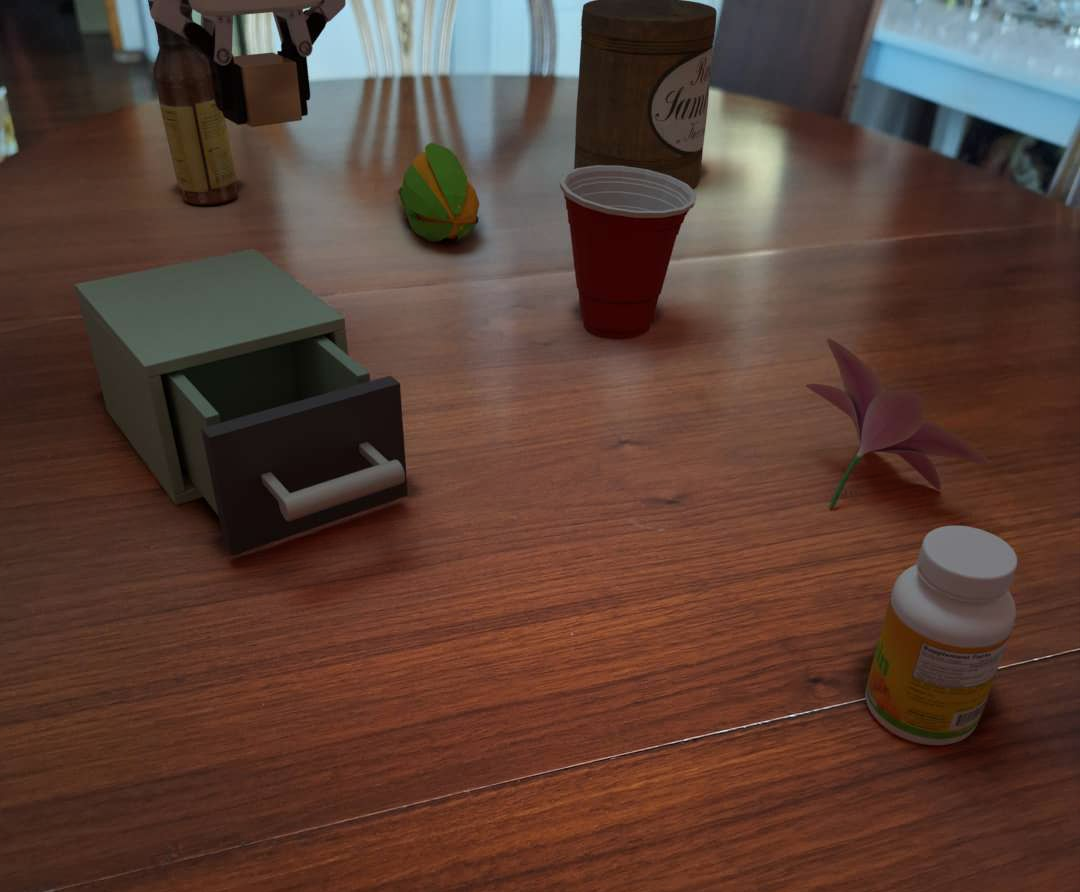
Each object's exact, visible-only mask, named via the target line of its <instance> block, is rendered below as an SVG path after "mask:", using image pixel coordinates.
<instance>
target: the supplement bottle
mask: <svg viewBox="0 0 1080 892" xmlns="http://www.w3.org/2000/svg"><path fill="white" fill-rule="evenodd" d="M1017 566H1018V556H1017V554H1016V552H1015V550H1014V549H1013V547H1012V546H1011V545H1009V544H1008V542H1006V540H1004V539H1002V538H1001V537H999V536H997V535H995V534H993V533H991V532H988V531H986V530H984V529H981V528H976V527H973V526H967V525H945V526H941V527H937V528H934V529H932V530H931V531H929V532H928V533H927V534H926V535H925V536H924V538H923V539H922V543H921V547H920V549H919V553H918V556H917V561H916V564H914V565H912V566H910V567H908V568H907V569H905V570H904V571H903V572H901V574H900V575H899V576H898V577H897V578H896V581H895V582H894V584H893V587H892V590H891V593H890V596H889V601H888V605H887V608H886V612H885V616H884V620H883V622H882V623H883V624H882V628H881V631H880V635H879V639H878V642H877V646H876V649H875V653H874V657H873V660H872V663H871V667H870V671H869V674H868V676H867V677H868V678H867V682H866V687H865V695H864V696H865V701H866V705H867V708H868V709H869V711H870V713H871V715H872V716H873V717H874V718H875V720H876V721H877V722H878V723H879V724H880V725H881V726H883V727H884V729H886V730H887V731H889V732H890V733H891V734H893V735H896V736H897V737H899V738H901V739H903V740H906V741H908V742H912V743H915V744H921V745H925V746H946V745H952V744H957V743H959V742H961V741H963V740H965V739H967V738H968V737H969V736H970V735H971V734H972V733H974V731H975V729H976V728H977V726H978V724H979V721H980V720H981V717H982V714H983V711H984V709H985V706H986V704H987V701H988V698H989V695H990V692H991V689H992V687H993V684H994V682H995V679H996V676H997V673H998V670H999V667H1000V665H1001V663H1002V660H1003V656H1004V653H1005V651H1006V648H1007V646H1008V643H1009V641H1010V638H1011V635H1012V632H1013V629H1014V626H1015V622H1016V617H1017V609H1016V607H1017V606H1016V604H1015V600H1014V598H1013V595H1012V594H1011V593H1010V591H1009V590H1010V587H1011V586H1012V584H1013V581H1014V580H1013V579H1014V576H1015V572H1016V570H1017Z"/></svg>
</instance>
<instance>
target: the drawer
mask: <svg viewBox="0 0 1080 892" xmlns="http://www.w3.org/2000/svg"><path fill="white" fill-rule="evenodd" d="M160 376H161V380H162V385H163V389H164V394H165V398H166V403H167V408H168V412H169V417H170V421H171V426H172V430H173V435H174V440H175V444H176V449H177V453H178V458H179V463H180V467H181V468H182V470H183V471H184V472H185V474H186V475H187V476H188V477H189V479H190V480H191V481H192V482H193V484H194V485H195V486H196V488H197V489H198V490H199V491H200V493H201V494H202V495H203V497H202V498H204V499H205V501H206V502H207V503H208V505H209V506H210V507H211V509H212V510H213V511H214V512H215V513H216V515H217V516H218V520H219V525H220V530H221V534H222V540H223V545H224V548H226V550H227V551H228V552H229V554H230V555H231V556H233V557H234V556H236V555H239V554H243V553H244V552H248V551H250V550H254V549H257V548H259V547H263V546H266V545H268V544H272V543H274V542H277V541H280V540H283V539H286V538H289V537H292V536H294V535H297V534H300V533H303V532H306V531H309V530H313V529H314V528H318V527H320V526H323V525H326V524H330V523H332V522H335V521H339V520H341V519H344V518H347V517H350V516H352V515H355V514H359V513H362V512H365V511H368V510H371V509H373V508H376V507H379V506H383V505H386V504H388V503H391V502H393V501H396V500H399V499H402V498H406V497H408V495H409V493H408V492H409V491H408V477H407V476H408V475H407V462H406V449H405V437H404V435H405V433H404V422H403V421H404V420H403V405H402V392H401V383H400V382H399V381H398V380H397V379H395V378H394V377H393V376H392V375H388V376H384V377H380V378H377V379H373V380H371V376H370V372H369V371H368V370H367V369H365V368H364V367H363V366H362V365H361V364H360V363H358V362H357V361H355V360H354V359H353V358H352V357H351V356H349V354H348V355H347V354H346V353H345V352H343V351H342V350H341V349H340V348H338V347H337V346H336V345H335V344H334V343H332V342H331V341H330V340H329V339H327V338H326V337H325V336H324V335H323V334H322V335H318V336H314V337H310V338H306V339H302V340H298V341H294V342H290V343H286V344H282V345H278V346H274V347H270V348H266V349H262V350H258V351H254V352H250V353H246V354H242V355H238V356H234V357H230V358H226V359H222V360H218V361H214V362H210V363H206V364H202V365H198V366H194V367H189V368H185V369H181V370H177V371H173V372H169V373H165V374H161V375H160Z"/></svg>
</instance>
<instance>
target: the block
mask: <svg viewBox="0 0 1080 892" xmlns="http://www.w3.org/2000/svg"><path fill="white" fill-rule="evenodd" d="M233 59H234V63H235V64H237V65H239V66H240V69H241V75H242V82H243V90H244V97H245V104H246V112H247V122H246V124H245V125H247V126H248V127H250V128H256V127H264V126H271V125H276V124H277V125H278V124H286V123H292V122H300V121H302V120H303V116H302V114H301V105H300V95H299V86H298V76H297V67H296V62H295V61H292V60H290V59H287V58H285V57H282V56H280V55H278V54H277V53H276V52H274V51H273V52H272V51H271V52H263V53H262V52H261V53H252V54H242V55H233Z"/></svg>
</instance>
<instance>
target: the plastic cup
mask: <svg viewBox="0 0 1080 892" xmlns="http://www.w3.org/2000/svg"><path fill="white" fill-rule="evenodd" d="M559 187H560V190H561V192H562V194H563V195H564V200H565V209H566V210H567V223H568V224H569V232H570V240H571V248H572V249H571V250H572V258H573V268H574V275H575V285H576V288H577V293H578V299H579V300H578V301H579V308H580V317H581V319H582V324H583V326H584V328H585V329H586V330H587V332H590V333H591V334H593V335H595V336H599V337H602V338H606V339H617V340H624V339H625V340H626V339H634V338H636V337H637V338H638V337H641V336H643V335H645V334H647V333H648V332H649V331H650V328H651V325H652V324H653V321H654V317H655V313H656V309H657V305H658V301H659V296H660V295H661V294H662V291H663V287H664V283H665V280H666V276H667V272H668V268H669V265H670V261H671V258H672V254H673V250H674V246H675V244H676V240H677V236H678V235H679V233H680V230H681V227H682V224H684V221H685V218H686V216H687V215H688V213H689V212H690V210H691V209H692V208H694V207H695V204H696V202H697V195H698V194H697V192H695V190H694V189H693V188H691V187H690V186H689V185H688V184H686V183H684V182H682V181H680V180H678V179H675V178H673V177H671V176H669V175H665V174H661V173H658V172H654V171H651V170H647V169H640V168H633V167H626V166H602V165H596V166H589V167H582V168H576V169H574V168H573V169H572V170H569V171H567V172H565V173H563V174H562V177H561V178H560V181H559Z"/></svg>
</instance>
